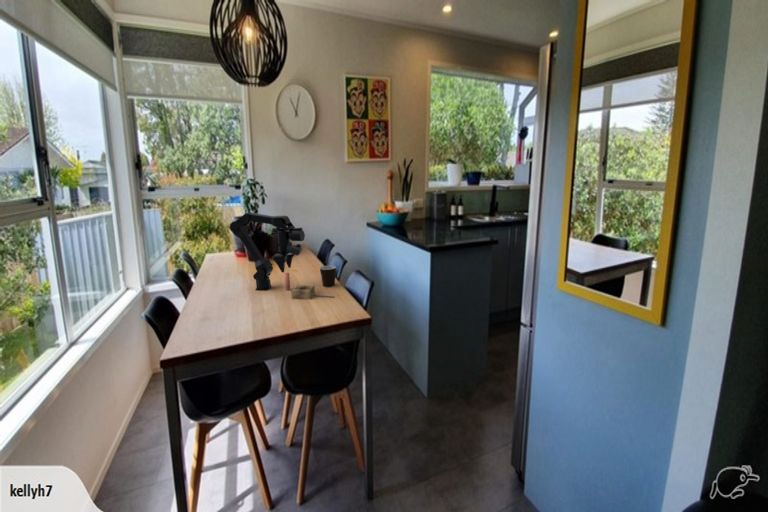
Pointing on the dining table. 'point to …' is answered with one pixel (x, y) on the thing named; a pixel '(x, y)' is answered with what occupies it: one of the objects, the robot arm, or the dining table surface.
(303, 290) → the brown square holed block
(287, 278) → the reddish pink rod
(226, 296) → the dining table surface
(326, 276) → the coffee mug
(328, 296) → the blue gray square bar
